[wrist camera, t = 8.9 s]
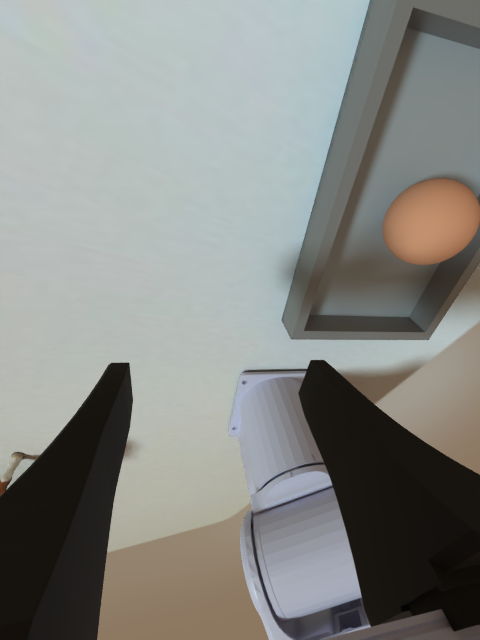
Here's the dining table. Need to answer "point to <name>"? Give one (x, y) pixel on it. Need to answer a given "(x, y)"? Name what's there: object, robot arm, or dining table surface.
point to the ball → (431, 221)
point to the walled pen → (392, 175)
